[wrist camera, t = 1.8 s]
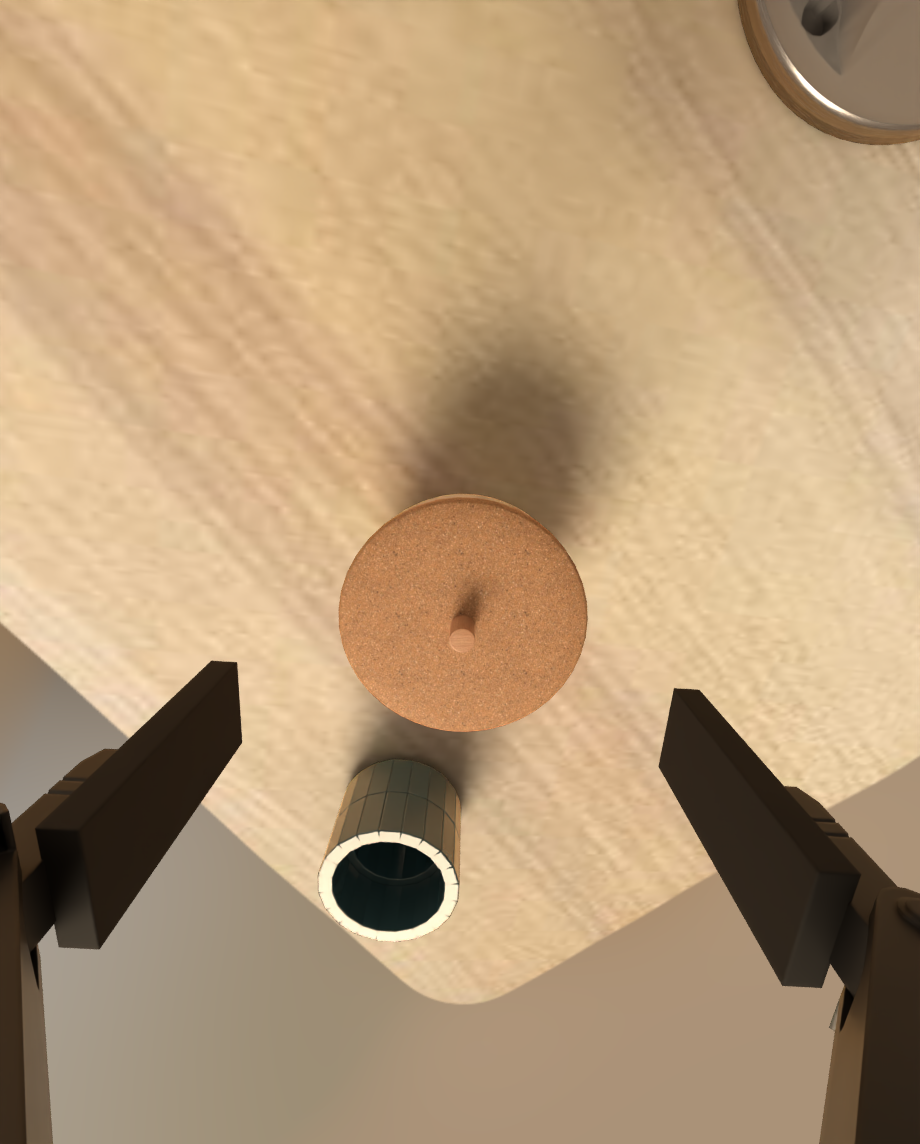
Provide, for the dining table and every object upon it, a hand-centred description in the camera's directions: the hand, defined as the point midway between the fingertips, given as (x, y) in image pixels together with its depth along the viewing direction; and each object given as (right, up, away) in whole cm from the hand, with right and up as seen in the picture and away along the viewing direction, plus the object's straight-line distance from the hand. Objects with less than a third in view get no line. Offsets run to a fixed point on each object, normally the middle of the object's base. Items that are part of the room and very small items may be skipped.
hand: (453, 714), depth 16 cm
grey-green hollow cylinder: (-4, -11, +19) cm, 22 cm away
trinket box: (0, +4, +14) cm, 15 cm away
